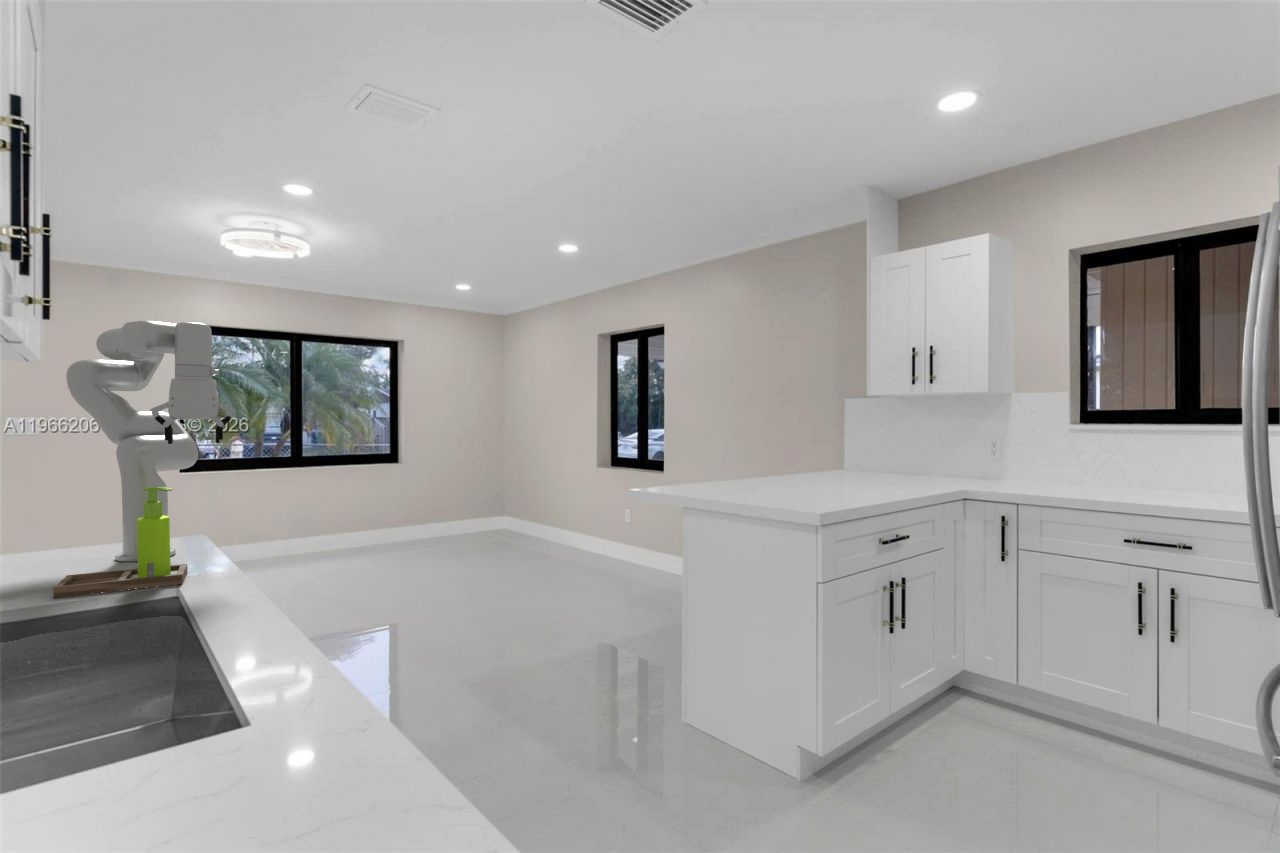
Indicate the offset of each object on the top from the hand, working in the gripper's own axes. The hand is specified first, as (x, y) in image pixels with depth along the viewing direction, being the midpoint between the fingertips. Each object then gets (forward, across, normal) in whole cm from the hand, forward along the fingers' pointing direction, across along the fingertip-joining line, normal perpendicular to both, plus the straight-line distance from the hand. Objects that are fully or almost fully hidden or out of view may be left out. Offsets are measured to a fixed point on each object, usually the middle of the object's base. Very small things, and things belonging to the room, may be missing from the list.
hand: (194, 443), depth 160 cm
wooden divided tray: (+30, +12, +13) cm, 35 cm away
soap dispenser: (+29, +6, +13) cm, 33 cm away
